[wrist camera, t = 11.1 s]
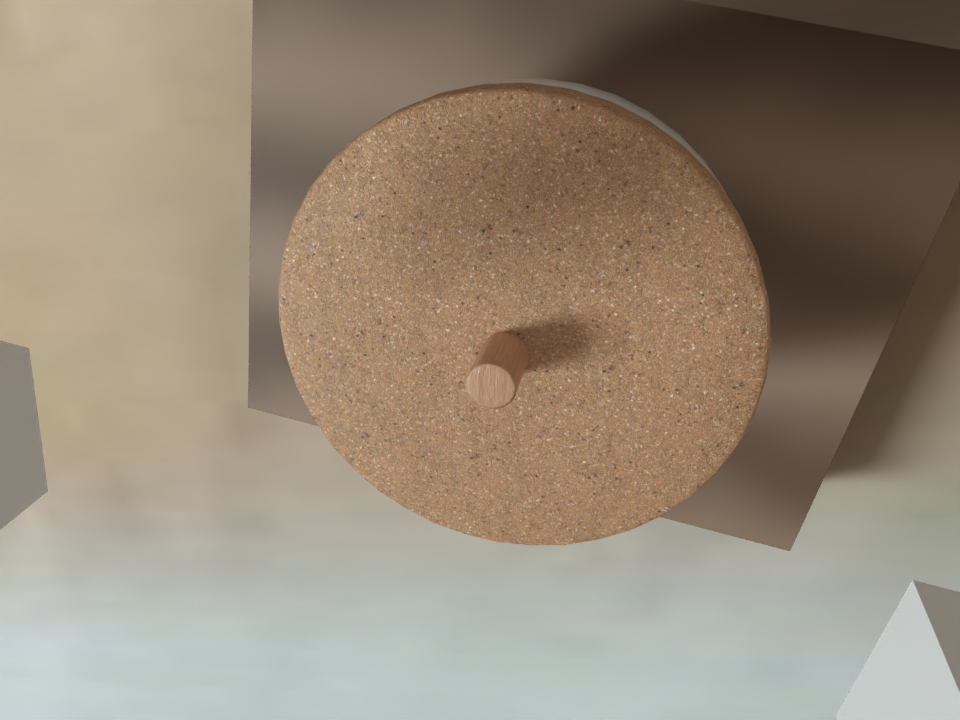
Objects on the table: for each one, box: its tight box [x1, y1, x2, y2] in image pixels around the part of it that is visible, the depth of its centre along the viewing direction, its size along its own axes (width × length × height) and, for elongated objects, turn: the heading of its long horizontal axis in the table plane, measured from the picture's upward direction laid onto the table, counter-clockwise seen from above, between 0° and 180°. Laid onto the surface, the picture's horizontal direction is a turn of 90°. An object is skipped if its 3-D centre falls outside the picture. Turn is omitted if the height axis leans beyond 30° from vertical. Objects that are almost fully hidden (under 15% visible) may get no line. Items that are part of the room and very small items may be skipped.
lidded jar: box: [278, 78, 771, 545], centre depth 19 cm, size 11×11×9 cm
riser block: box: [248, 0, 960, 551], centre depth 24 cm, size 18×20×7 cm
